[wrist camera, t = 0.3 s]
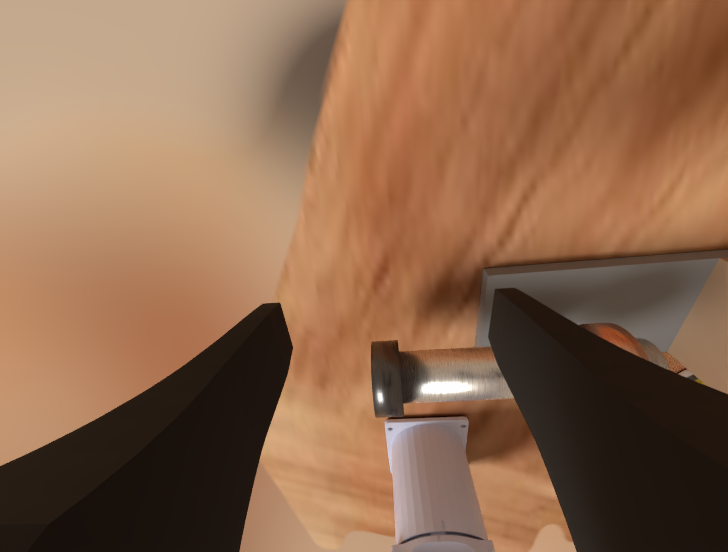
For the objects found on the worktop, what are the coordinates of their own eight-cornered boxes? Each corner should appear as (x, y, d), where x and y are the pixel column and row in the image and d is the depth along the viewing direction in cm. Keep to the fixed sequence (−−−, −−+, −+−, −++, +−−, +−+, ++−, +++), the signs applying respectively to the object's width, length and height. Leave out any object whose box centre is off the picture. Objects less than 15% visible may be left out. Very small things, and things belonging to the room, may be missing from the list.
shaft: (602, 362, 20) (664, 432, 16) (377, 374, 22) (378, 441, 17) (627, 303, 18) (708, 367, 13) (370, 320, 19) (369, 383, 15)
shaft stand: (697, 340, 23) (813, 425, 17) (474, 353, 24) (507, 435, 18) (754, 247, 19) (932, 314, 13) (483, 268, 20) (529, 337, 14)
